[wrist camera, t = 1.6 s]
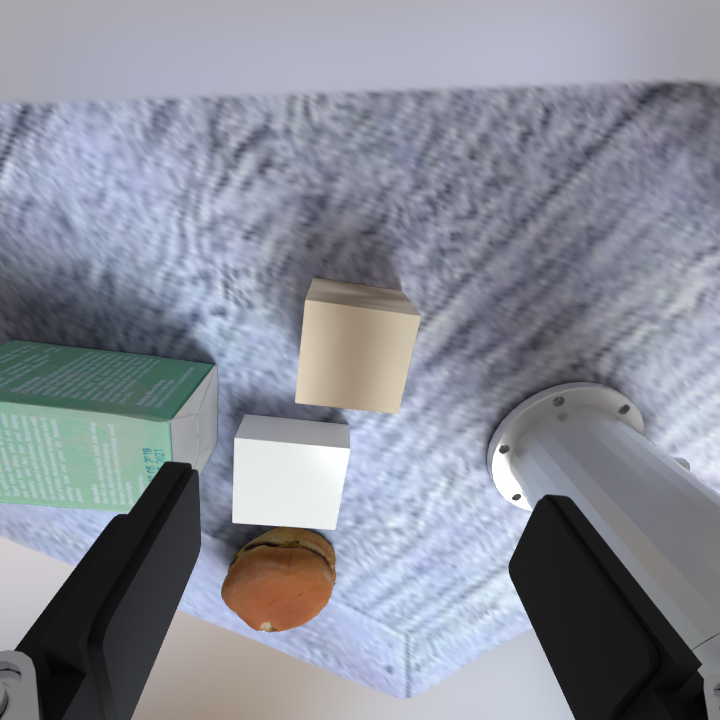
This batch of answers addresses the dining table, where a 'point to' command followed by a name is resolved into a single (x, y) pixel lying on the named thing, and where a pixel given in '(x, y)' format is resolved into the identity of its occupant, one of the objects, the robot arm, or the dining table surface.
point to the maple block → (355, 346)
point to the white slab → (289, 472)
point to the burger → (280, 579)
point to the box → (98, 423)
